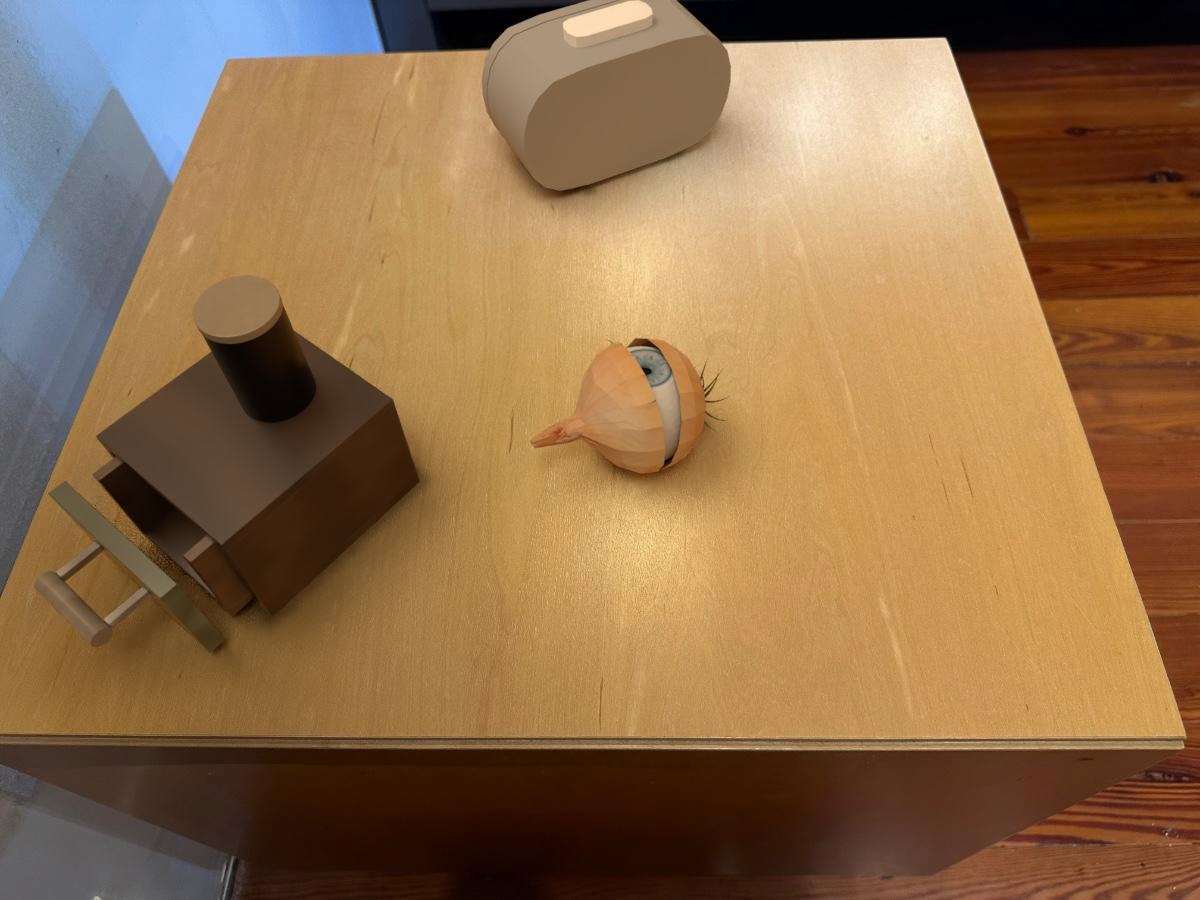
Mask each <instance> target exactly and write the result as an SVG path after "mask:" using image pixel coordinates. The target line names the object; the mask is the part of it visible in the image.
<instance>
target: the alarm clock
mask: <svg viewBox="0 0 1200 900" xmlns="http://www.w3.org/2000/svg"><path fill="white" fill-rule="evenodd" d="M731 75H732V65H731V61H730V56H729V53H728V49H727V48H726V47H725V46H724V44H723V43H722V42H721V40H720V39H719V38H718V37H717V36H716V35H715V34H713V32H711V31H710V30H709V29H708V28H707V27H706V26H705V25H704V24H703V23H702V22H701V21H699V20H698V19H697V18H696V17H695V16H694V15H693V14H692V13H691V12H690V11H689V10H688V9H687V8H685V6H683V5H682V4H681V3H680V2H679V1H678V0H586V1H581V2H577V3H575V4H571V5H568V6H564V7H561V8H557V9H555V10H550V11H547V12H544V13H540V14H538V15H535V16H533V17H530V18H528V19H526V20H524V21H521V22H519V23H516V24H513V25H512V26H509V27H507V28H506V29H505V30H504V32H503V33H501V34H500V35H499V36H498V38H496V40H495V41H494V42H493V43H492V45H491V47H490V48H489V51H488V53H487V55H486V56H485V60H484V64H483V69H482V75H481V92H482V99H483V103H484V106H485V110H486V113H487V114H488V116H489V119H490V120H491V122H492V124H493V126H494V127H495V128H496V130H497V131H498V132H499V134H500V135H501V137H502V138H503V139H504V140H505V142H506V143H507V145H508V146H509V147H510V148H511V150H512V151H513V153H514V154H515V156H517V158H518V160H519V161H520V162H521V163H522V165H523V166H524V168H525V169H526V170H527V172H528V173H529V174H530V175H531V177H532V178H533V180H535V181H536V182H537V183H538V184H540V185H541V186H542V187H543V188H545V189H546V188H547V189H550V190H555V191H560V192H561V191H566V190H574V189H577V188H579V187H584V186H588V185H591V184H594V183H595V184H596V183H598V182H600V181H603V180H607V179H609V178H612V177H615V176H617V175H620V174H623V173H625V172H626V173H627V172H629V171H632V170H634V169H637V168H641V167H643V166H647V165H649V164H652V163H654V162H657V161H660V160H663V159H666V158H669V157H671V156H674V155H676V154H677V153H679V152H682V151H684V150H686V149H688V148H690V147H693V146H694V145H696V144H698V143H699V142H700V141H701V140H703V138H704V137H706V135H708V133H710V132H711V131H712V130H713V128H714V126H715V125H716V123H717V122H718V120H719V119H720V118H721V116H722V114H723V110H724V108H725V107H726V106H725V105H726V104H727V100H728V97H729V92H730V86H731V80H732V79H731V78H732V76H731Z"/></svg>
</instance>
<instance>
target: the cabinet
mask: <svg viewBox="0 0 1200 900" xmlns="http://www.w3.org/2000/svg"><path fill="white" fill-rule="evenodd" d="M294 332H295V334H296V337H297V339H298V341H299V344H300V346H301V348H302V351H303V353H304V356H305V358H306V360H307V363H308V365H309V367H310V370H311V372H312V375H313V377H314V379H315V383H316V392H315V395H314V398H313V400H312V401H311V403H310V404H309V405H308V407H307V408H305V409H304V410H303V411H302V412H301V413H299V414H298V415H296V416H294V417H292V418H290V419H287V420H284V421H279V422H262V421H258V420H255V419H253V418H251V417H250V416H248V415H247V414H246V413H245V412H244V410H243V409H242V407H241V405H240V403H239V401H238V399H237V398H236V396H235V394H234V392H233V390H232V388H231V387H230V385H229V383H228V381H227V379H226V377H225V375H224V374H223V372H222V370H221V368H220V366H219V364H218V363H217V361H216V359H215V357H214V355H213V353H212V352H211V351H210V352H208V353H207V354H206V355H204V356H203V357H201V358H200V359H199V360H198V361H196V362H195V363H194V364H192V365H190V366H189V367H188V368H186V369H185V370H184V371H182V372H181V373H180V374H178V375H177V376H175V377H174V378H173V379H171V380H170V381H169V382H168V383H166V384H164V385H163V386H162V387H161V388H159V389H158V390H156V391H155V392H154V393H152V394H151V395H150V396H148V397H147V398H146V399H144V400H142V401H141V402H140V403H139V404H137V405H136V406H135V407H133V408H132V409H130V410H129V411H128V412H127V413H125V414H124V415H122V416H121V417H120V418H118V419H117V420H115V421H114V422H112V423H111V424H110V425H108V426H107V427H106V428H104V429H103V430H102V431H100V432H99V433H98V434H96V435H95V438H96V439H97V440H98V441H99V443H100V444H101V445H102V447H103V448H104V449H105V450H106V452H107V453H108V454H109V455H110V456H111V459H113V458H114V457H117V458H119V459H120V460H121V461H122V462H123V463H124V464H125V465H127V466H128V467H129V468H130V469H131V470H132V471H133V472H135V473H136V474H137V475H138V476H139V477H140V478H141V479H143V480H144V481H145V482H146V483H147V484H148V485H150V486H151V487H152V488H153V489H154V490H155V491H156V492H158V493H159V494H160V495H161V496H162V497H163V498H164V499H166V500H167V501H168V502H169V503H170V504H171V505H173V506H174V507H175V508H176V509H177V510H178V511H179V512H181V513H182V514H183V515H184V516H185V517H186V518H187V519H189V520H190V521H191V522H192V523H193V524H194V525H196V526H197V527H198V528H199V529H200V530H201V531H202V532H204V533H205V534H206V535H207V536H208V537H209V538H210V539H212V540H213V541H214V542H215V543H216V544H217V545H218V546H219V547H220V549H221V550H222V552H223V553H224V554H225V556H226V557H227V558H228V560H229V561H230V563H231V564H232V565H233V567H234V568H235V570H236V571H237V572H238V574H239V575H240V576H241V578H242V579H243V581H244V582H245V583H246V585H247V586H248V587H249V589H250V590H251V592H252V593H253V594H254V596H255V597H254V598H253V599H252V600H253V601H254V602H255V603H256V604H257V605H258V606H259V607H260V608H262V609H263V611H265V613H267V614H268V615H270V617H274V616H275V615H276V614H278V613H279V612H280V611H281V610H282V609H283V608H284V607H285V606H286V605H287V604H288V603H290V602H291V601H292V600H293V599H294V598H295V597H296V596H297V595H298V594H300V592H302V590H303V589H305V588H306V587H307V586H308V585H309V584H310V583H311V582H312V581H313V580H315V578H317V577H318V576H319V575H320V574H321V573H322V572H323V571H325V569H327V567H329V566H330V565H331V564H332V563H333V562H334V561H336V559H337V558H338V557H339V556H341V555H342V554H343V553H344V552H345V551H346V550H347V549H348V548H349V547H350V546H351V545H352V544H353V543H355V541H357V540H358V539H359V538H360V537H361V536H363V535H364V533H366V531H368V530H369V529H370V528H371V527H372V526H373V525H374V524H376V522H377V521H378V520H380V519H381V518H382V517H383V516H384V515H385V514H386V513H387V512H388V511H390V510H391V508H392V507H394V506H395V505H396V504H397V503H398V502H399V501H401V499H402V498H404V497H405V496H406V494H408V493H409V492H410V491H412V490H413V488H414V487H416V486H417V484H419V483H420V478H419V475H418V472H417V469H416V466H415V462H414V459H413V457H412V454H411V451H410V448H409V444H408V441H407V438H406V435H405V432H404V429H403V426H402V422H401V418H400V416H399V414H398V409H397V407H396V404H395V401H394V398H392V397H391V396H389V395H388V394H386V393H384V392H383V391H382V390H381V389H379V388H378V387H376V386H375V385H374V384H372V383H370V382H369V381H368V380H366V379H365V378H364V377H361V376H360V375H359V374H358V373H356V372H354V371H353V370H352V369H351V368H349V367H348V366H346V365H344V364H343V363H342V362H340V361H339V360H337V359H336V358H335V357H333V356H332V355H330V354H329V353H327V352H326V351H324V350H323V349H321V348H320V346H317V345H316V344H315V343H313V342H311V340H308V339H307V338H305V337H304V336H303V335H302V334H300V333H299V332H297V331H296V330H294Z"/></svg>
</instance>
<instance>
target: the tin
mask: <svg viewBox="0 0 1200 900" xmlns="http://www.w3.org/2000/svg"><path fill="white" fill-rule="evenodd" d="M282 299H283V298H282V297H281V294H280V291H279V289H278V288H277V287H276V285H275V284H274V283H273V282H271V281H270V280H268V279H266V278H264V277H261V276H258V275H257V276H256V275H247V274H246V275H244V274H243V275H235V276H231V277H228V278H225V279H222V280H219V281H217V282H216V283H214V284H212V285H211V286H208V288H207V289H205V290H203V292H202V293H201V294H200V295H199V296H198V297H197V299H196V301H195V303H194V305H193V309H192V319H193V322H194V324H195V326H196V329H198V331H199V333H200V334H201V336H202V337H203V339H204V341H205V343H206V344H207V347H208V348H209V350H210V352H212V353H213V355H214V357H215V359H216V361H217V363H218V364H219V366H220V368H221V370H222V372H223V374H224V375H225V377H226V379H227V381H228V383H229V385H230V387H231V388H232V390H233V392H234V394H235V396H236V398H237V399H238V401H239V403H240V405H241V407H242V409H243V410H244V412H245V413H246V414H247V415H248V416H250V417H251V418H253V419H255V420H258V421H262V422H279V421H284V420H287V419H290V418H292V417H294V416H296V415H298V414H299V413H301V412H302V411H303V410H304V409H305V408H307V407H308V405H309V404H310V403H311V401H312V400H313V398H314V395H315V392H316V383H315V379H314V377H313V375H312V372H311V370H310V367H309V365H308V363H307V360H306V358H305V356H304V353H303V351H302V348H301V346H300V344H299V341H298V339H297V337H296V334H295V332H294V331H295V329H294V327H293V325H292V323H291V320H290V317H289V315H288V313H287V311H286V309H285V306H284V303H283V300H282Z"/></svg>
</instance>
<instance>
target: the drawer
mask: <svg viewBox="0 0 1200 900" xmlns="http://www.w3.org/2000/svg"><path fill="white" fill-rule="evenodd" d="M91 476H92V477H93V478H94V479H95V480H96V482H98V484H99V485H100V486H101V487H102V489H103V490H104V491H105V492H106V493H107V495H108V496H110V498H111V499H112V501H114V503H115V504H116V505H117V507H119V509H120V511H122V512H123V514H124V515H125V516H126V517H127V518H128V519H129V520H130V522H131V523H132V524H133V525H134V527H135V528H136V529H137V530H138V531H139V533H140V534H141V535H143V537H145V538H146V539H147V540H148V541H149V542H150V543H151V544H152V545H153V546H155V547H156V548H157V549H158V550H159V551H160V552H161V553H163V555H164V556H166V557H167V559H169V560H170V561H171V562H172V563H174V564H175V566H177V567H178V568H179V569H180V570H181V571H182V572H184V574H185V575H187V576H188V577H189V578H190V579H191V580H192V581H193V582H194V583H195V584H196V585H198V586H199V587H200V588H201V589H202V590H203V591H204V592H206V593H207V595H209V596H210V597H211V598H212V599H213V600H214V601H215V602H216V603H218V604H219V605H220V606H221V607H222V608H223V609H224V610H225V611H226V612H228V614H230V615H231V616H235V615H236V614H237V613H238V612H240V611H241V610H242V609H243V608H244V607H245V606H247V604H248V603H250V601H252V600H253V598H254V597H255V596H254V594H253V593H252V592H251V590H250V589H249V587H248V586H247V585H246V583H245V582H244V581H243V579H242V578H241V576H240V575H239V574H238V572H237V571H236V570H235V568H234V567H233V565H232V564H231V563H230V561H229V560H228V558H227V557H226V556H225V554H224V553H223V552H222V550H221V549H220V547H219V546H218V545H217V544H216V543H215V542H214V541H213V540H212V539H210V538H209V537H208V536H207V535H206V534H205V533H204V532H202V531H201V530H200V529H199V528H198V527H197V526H196V525H194V524H193V523H192V522H191V521H190V520H189V519H187V518H186V517H185V516H184V515H183V514H182V513H181V512H179V511H178V510H177V509H176V508H175V507H174V506H173V505H171V504H170V503H169V502H168V501H167V500H166V499H164V498H163V497H162V496H161V495H160V494H159V493H158V492H156V491H155V490H154V489H153V488H152V487H151V486H150V485H148V484H147V483H146V482H145V481H144V480H143V479H141V478H140V477H139V476H138V475H137V474H136V473H135V472H133V471H132V470H131V469H130V468H129V467H128V466H127V465H125V464H124V463H123V462H122V461H121V460H120V459H119V458H117V457H114V458H111V459H110V460H109V461H108V462H106V463H105V464H103V465H102V466H100V468H98V469H97V470H96V471H94V472H93V473H92V475H91ZM47 495H48V496H50V498H51V499H52V500H53V501H54V502H55V503H56V504H57V505H58V506H59V508H61V510H62V511H64V513H66V514H67V516H68V517H69V518H70V519H71V520H72V521H73V522H74V523H75V524H76V526H78V528H79V529H81V531H83V533H84V534H85V535H86V536H87V537H88V538H89V539H90V540H91V541H92V543H91V544H90V545H88V546H87V547H85V548H84V549H83V550H82V551H81V552H79V553H78V554H76V555H75V556H74V557H72V558H71V559H70V560H69V561H67V563H65V564H64V565H63V566H62V567H60V568H59V569H58V570H57V571H46V572H44V573H41V574H40V575H39V576H38V577H37V578H36V579H35V580H34V583H33V587H34V590H35V591H37V593H38V594H39V595H40V596H41V597H42V598H43V599H44V600H45V601H46V602H47V603H48V604H50V606H51V607H52V608H53V609H54V610H55V611H56V612H57V613H58V615H60V616H61V617H62V618H63V619H64V620H65V621H66V622H67V623H68V624H69V625H70V626H71V627H72V628H73V630H75V631H76V632H77V633H78V635H80V637H81V638H82V639H83V640H84V641H85V642H86V643H88V645H90V646H91V647H92V648H100V647H102V646H104V645H106V644H107V643H108V642H109V641H110V640H111V639H112V638H113V635H114V630H113V629H115V628H116V627H117V626H118V625H119V624H120V623H122V622H123V621H124V620H126V618H127V617H128V616H130V615H131V614H132V613H134V612H135V611H136V610H137V609H138V608H140V606H142V605H143V604H144V603H145V602H146V601H148V600H149V599H152V601H154V602H155V603H156V604H157V605H158V606H159V607H160V608H161V609H162V610H163V611H164V612H165V613H166V614H167V615H169V617H171V618H172V620H173V621H175V622H176V623H177V624H178V625H179V626H180V627H181V628H182V629H183V630H184V631H185V632H186V633H188V635H190V637H192V638H193V639H194V641H196V642H197V643H198V644H199V645H200V646H201V647H202V648H204V650H205V651H207V652H208V653H209V654H211V653H213V651H214V650H216V649H217V648H218V647H219V646H220V645H221V644H222V643H223V642H224V641H225V637H224V636H222V634H221V632H220V631H218V629H217V628H216V627H215V626H214V625H213V624H212V622H211V621H210V620H209V619H208V618H207V616H206V615H205V614H204V613H203V611H202V610H201V609H200V608H199V607H198V606H197V605H196V603H194V601H193V600H192V599H191V598H190V596H188V594H187V593H186V592H185V591H184V590H183V589H182V587H181V586H180V585H179V584H178V582H176V581H175V580H174V579H173V578H172V577H171V576H170V575H169V574H167V572H165V571H164V570H163V569H162V568H161V567H160V566H159V565H158V564H157V563H155V561H153V560H152V559H151V558H150V557H149V556H148V555H147V554H146V553H144V551H142V550H141V549H140V548H139V547H138V546H137V545H136V544H134V542H133V541H132V540H130V538H128V537H127V536H126V535H125V534H124V533H123V532H122V531H121V530H120V529H118V527H116V526H115V525H114V524H113V523H112V522H111V521H110V520H109V519H108V518H107V517H105V516H104V515H103V514H102V512H100V511H99V510H98V509H97V508H96V507H94V506H93V504H91V503H90V502H89V501H88V500H87V499H86V498H85V497H84V496H83V495H82V494H81V493H79V492H78V491H77V490H76V489H75V488H74V487H73V486H72V485H71V484H70V483H69V482H68V481H66V480H64V481H62V482H61V483H60V484H58V485H57V486H55V487H54V488H53V489H52V490H51V491H49V492H48V494H47ZM102 553H103V554H104V555H105V556H106V557H107V558H108V559H109V560H110V561H111V562H112V563H113V564H114V565H115V566H116V567H118V568H119V569H120V570H121V572H123V573H124V574H125V575H126V576H127V577H128V578H129V579H130V580H131V581H133V583H135V585H137V586H138V587H139V589H137V590H136V591H135V592H134V593H133V594H132V595H130V596H129V597H127V599H126V600H124V601H123V602H122V603H120V604H119V605H118V606H117V607H116V608H115V609H113V610H112V611H111V612H110V613H109V614H108V615H106V616H105V617H104V618H102V617H101V616H100V615H99V614H98V613H97V612H96V610H94V609H93V608H92V607H91V606H90V605H89V604H88V603H87V602H86V601H85V600H84V599H83V598H82V597H81V596H80V595H79V594H78V593H77V592H76V591H75V590H74V589H73V588H72V587H71V586H70V585H69V584H68V583H67V582H66V581H68V580H69V579H70V578H72V577H73V576H74V575H75V574H77V573H78V572H79V571H81V570H82V569H83V568H84V567H86V566H87V565H88V564H89V563H91V562H92V561H93V560H94V559H95V558H97V557H98V556H99V555H100V554H102Z"/></svg>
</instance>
